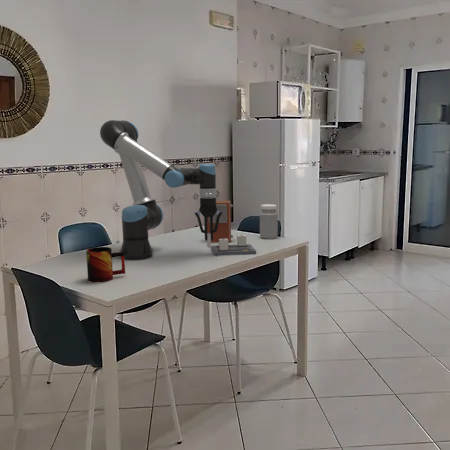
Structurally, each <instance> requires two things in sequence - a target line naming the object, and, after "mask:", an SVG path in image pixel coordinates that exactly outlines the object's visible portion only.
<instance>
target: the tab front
mask: <svg viewBox="0 0 450 450" xmlns="http://www.w3.org/2000/svg"><path fill="white" fill-rule="evenodd" d="M218 245H219V250H228V245H229V242H228V239H224V238H222V239H219V242H218Z"/></svg>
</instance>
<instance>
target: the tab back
mask: <svg viewBox="0 0 450 450" xmlns="http://www.w3.org/2000/svg"><path fill="white" fill-rule="evenodd" d="M246 244H247V235H246V234H237V235H236V245H238V246H246Z"/></svg>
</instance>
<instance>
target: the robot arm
mask: <svg viewBox="0 0 450 450" xmlns="http://www.w3.org/2000/svg"><path fill="white" fill-rule="evenodd" d="M99 131H100V132H99V137H100V138H101V140H102V142H103V143H104V144H105V145H106V146H108V147H109V148H111V149H112V150H114V152H115V153H117V154H118V155H119V159H120V162H121V165H122V167H123V171H124V174H125V178H126V181H127V184H128V187H129V190H130V193H131V196H132V200H133V203H132V204H131V205H129V206H126V207H124V208H123V209H122V211H121V224H122V229H121V230H122V244H121V247H120V252H124V261H125V260H126V261H127V260H128V261H140V260H145V259H150V258H152V257H153V255H154V253H153V252H154V251H153V248H152V245H151V243H150V241H149V231H150V230H153V229H156V228H157V227H158V226H160V225H161V224H162V222H163V220H164V211H163V209H162V208H161V206H159V204H157V202H156V199H155V197H152V195H151V192H150V190H149V186H148V183H147V179H146V176H145V173H144V170H143V167H144V168H145V169H147V170H148V171H150V173H153V174H154V175H156V176H157V177H159V178H161V179H162V180H163V181H164V182H165V184H166V185H167V187H169V188H173V189H175V188H176V189H177V188H180V187H183V186H189V185H199V197H200V199H199V209H198V211H196V212H194V214H195V217H196V218H197V223H198V226H199V229H200V232H201V233H202V234H204V241H206V247H207V249H208V248H210V249H211V246H212V242H211V240H213V233H214V232H217V228H218V223H219V219H220V216H221V214H222V212H221V211H218V210H217V207H216V201H217V198H216V197H217V188H216V187H217V185H216V184H217V183H216V182H217V180H216V179H217V177H216V175H217V173H216V172H217V171H216V165H215V164H213V163H201V164H199V165H198V166H199V167H198V168H197V167H196V168H194V167H193V168H192V167H191V168H189V167H179V168H177V167H175V166H173V164H171V163H170V162H168V161H167V160H165V159H163V158H162V157H160V156H159V155H158V154H156V153H154V152H153V151H152V150H150V149H148V148H147V147H145V146H144V145H142V144H141V143H139V141H138V138H139V131H138V128H137V126H136V125H135V124H134V123H132V122H130V121H127V120H114V119H113V120H112V119H110V120H108V121H105V122H104V123H103V124H102V125H101V127H100V130H99ZM216 212H217V217H216V222H215V226H214V229H213V216H214V215H215V213H216ZM200 216H203V219H204V223H202V219H201V217H200ZM207 217H210V233H207ZM203 224H204V225H203ZM119 258H120V259H121V257H119Z"/></svg>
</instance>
